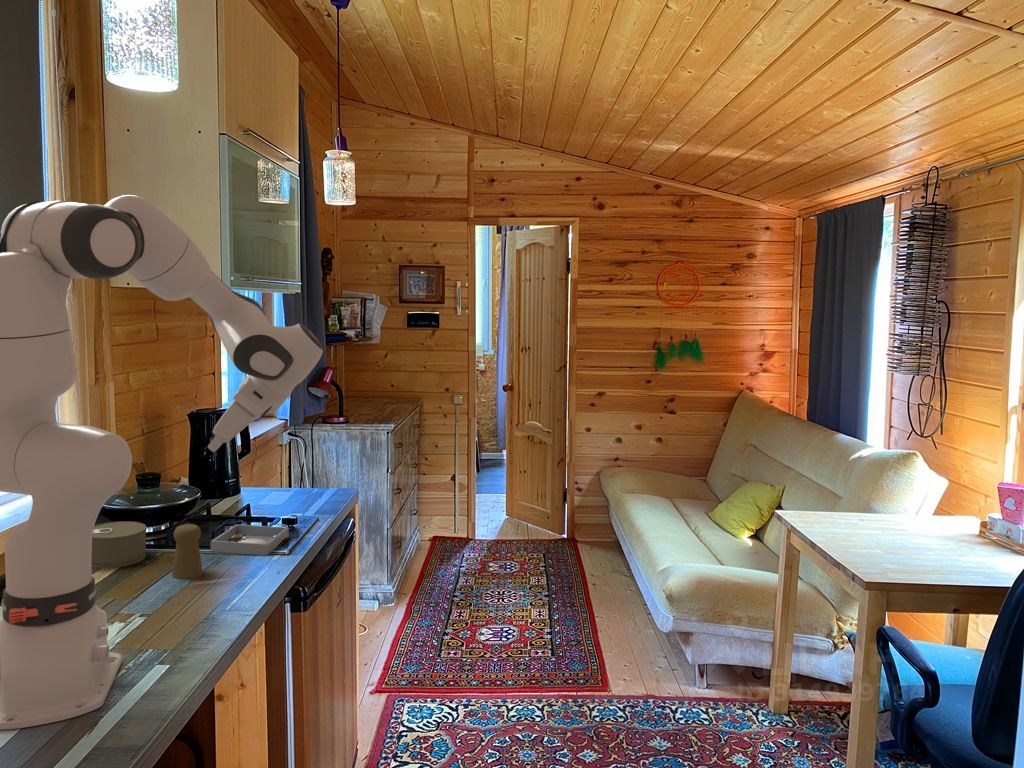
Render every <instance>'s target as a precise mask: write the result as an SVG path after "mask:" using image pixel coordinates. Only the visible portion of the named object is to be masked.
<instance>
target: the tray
mask: <svg viewBox="0 0 1024 768" xmlns="http://www.w3.org/2000/svg"><path fill="white" fill-rule="evenodd" d="M289 531H290V529H289V527H287V526H286V527H285V526H284V527H283V526H271V525H270V526H268V525H251V524H236V523H235V524H234V525H233V526H231V527H230V528H228V529H227V530H225V531H224V532H222V533H221V534H219V535H218V536H216V537H215V538H213V539H212V540H210V552H211V553H222V554H223V553H224V554H225V553H227V554H239V555H241V554H242V555H243V554H244V555H257V556H268V555H270V553H272V552H273V551H274V550H275V549H277V548H276V547H277V546H278V545H279V544H280V543H281V542H282V541H283V540H284V539H285V538H287V537H288V538H289V535H290V534H289ZM236 533H241V534H244V535H246V536H245V539H263V540H265V541H266V542H267V543H266V544H261V543H245V542H229V541H228V540H229V539H230V538H231V537H232V536H233V535H234V534H236ZM274 535H276V536H275V537H274V538H272V537H273V536H274ZM288 538H287V539H288ZM282 543H283V542H282ZM282 543H281V544H282ZM281 544H280V545H281ZM280 545H279V546H280ZM279 546H278V547H279ZM273 549H274V550H273Z"/></svg>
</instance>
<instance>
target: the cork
mask: <svg viewBox="0 0 1024 768" xmlns="http://www.w3.org/2000/svg"><path fill="white" fill-rule="evenodd" d="M201 535H202V531H201V527H200V526H199V525H196V524H192V523H187V524H186V523H185V524H180V525H179V526H177V527H176V528H175V529H174V531H173V539H174V541H175V542H176V543H175V550H174V552H175V553H174V559H173V567H172V573H171V577H172V578H174V579H176V580H192V579H197V578H198V577H201V576H202V575H203V573H204V572H203V565H202V559H201V551H200V545H199V540H200V539H201Z"/></svg>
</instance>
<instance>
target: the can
mask: <svg viewBox="0 0 1024 768" xmlns="http://www.w3.org/2000/svg"><path fill="white" fill-rule="evenodd" d="M146 533H147V525H146V524H145V523H142V522H140V521H131V520H129V521H126V520H125V521H124V520H122V521H112V522H105V523H100V524H96V525H94V529H93V535H92V568H97V569H119V568H124V567H127V566H128V567H129V566H132V565H135V564H138V563H140V562H142V561H143V560H145V559H146V558H147V557H146V555H147V554H146V551H147V548H146V545H147V541H146V540H147V539H146V537H147V536H146V535H147V534H146Z"/></svg>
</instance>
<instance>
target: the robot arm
mask: <svg viewBox="0 0 1024 768" xmlns="http://www.w3.org/2000/svg"><path fill="white" fill-rule="evenodd" d="M126 272H127V273H128V274H129V275H130V276H131V277H132V278H134V279H135V280H136V281H137V282H138V283H139V284H140V285H142V286H143V287H144V288H145V289H147V290H148V291H149V292H150V293H152V294H153V295H156V297H159V298H160V299H162V300H164V301H169V302H175V301H176V302H177V301H183V300H184V299H188V298H190V299H191V300H192V301H193V302H195V303H196V304H197V305H198V306H199V307H200V308H201V309H203V311H205V312H206V313H207V314H208V315H209V319H210V322H211V325H212V327H213V329H214V331H215V333H216V334H217V336H218V337H219V339H220V341H221V343H222V345H223V346H224V348H225V350H226V353H227V354H228V356H229V358H230V359H231V361H232V363H233V365H234V366H235V368H236V369H237V370H239V372H241V373H242V374H245V375H247V376H246V377H245V378H244V379H243V381H242V382H241V383H240V384H239V386H238V390H237V391H236V392H235V394H233V396H232V399H233V401H232V402H231V403H230V405H229V406H228V407H227V408H226V410H225V411H224V412H223V414H222V416H221V417H220V418H219V420H218V421H217V423H216V424H215V425H214V427H213V430H212V434H213V435H214V437H213V438H212V440H211V441H210V443H209V444H208V445H207V448H208V449H209V450H210V451H211V452H213V453H215V452H217V450H219V448H220V447H221V446H222V445H223V444H224V443H229V442H230V441H231V440H233V439H234V438H235V437H236V436H237V435H239V434H240V433H241V431H243V430H245V428H246V427H248V426H249V425H250V424H252V422H254V421H255V420H257V419H260V418H262V417H263V416H265V415H266V416H267V415H269V414H275V413H276V412H277V411H278V410H279V408H281V406H283V404H284V403H285V402H286V400H288V399H289V397H290V396H291V395H292V392H293V390H294V389H295V388H296V386H297V385H299V384H300V383H303V381H304V380H305V379H306V378H307V376H308V375H310V373H311V372H312V371H313V370H314V368H315V366H316V365H317V364H318V362H319V361H320V360H321V358H322V355H323V352H324V347H323V345H322V343H321V342H320V340H319V339H318V337H317V336H316V335H315V334H314V332H312V330H311V329H310V328H308V327H307V326H305V325H304V324H302V323H297V324H295V325H291V326H277V325H272V324H271V323H270V321H269V320H268V318H267V316H266V314H265V312H264V310H263V308H262V306H261V305H260V304H259V302H258V301H256V300H255V299H253V298H251V297H249V296H246V295H244V294H241V293H239V292H236V291H235V290H233V289H231V288H230V287H229V286H228V285H227V284H226V283H225V282H224V281H223V280H221V278H219V276H218V275H216V274H215V273H214V272H213V271H212V269H211V266H210V264H209V262H208V260H207V258H206V257H205V255H204V254H203V252H202V251H201V250H200V248H199V247H198V246H197V244H196V243H195V242H194V241H193V239H192V238H191V237H190V236H189V235H188V234H187V233H186V232H185V231H184V230H183V229H182V228H181V227H180V226H179V225H178V224H177V223H176V222H175V221H173V219H171V218H170V217H169V216H168V215H167V214H165V213H164V212H163V211H162V210H160V209H159V208H158V207H157V206H155V205H154V204H152V203H150V201H148V200H146V199H145V198H143V197H141V196H137V195H136V194H135V195H134V194H125V195H120V196H118V197H114V198H112V199H111V200H109V201H108V202H106V204H104V205H103V204H96V203H93V204H92V203H90V204H89V203H88V204H87V203H83V202H81V203H80V202H75V201H70V200H51V201H32V202H28V203H25V204H22V205H20V206H16V208H14V209H13V210H11V212H9V213H8V214H7V216H5V219H4V220H3V223H2V225H1V229H0V492H2V493H11V494H16V495H17V494H18V495H26V496H31V498H32V505H31V506H32V507H31V511H30V514H29V517H28V519H27V521H26V522H24V523H22V524H21V525H19V526H17V527H16V528H15V529H14V530H12V531H11V532H10V534H9V535H8V536H7V538H6V539H5V543H4V564H5V567H4V568H5V588H4V589H3V590H2V599H1V608H2V619H1V620H0V730H12V729H13V730H14V729H23V728H30V727H36V726H42V725H46V724H50V723H54V722H55V723H57V722H59V721H64V720H68V719H71V718H72V719H73V718H75V717H78V716H82V715H84V714H88V713H89V712H90V713H91V712H92V711H95V710H97V709H100V708H101V707H102V706H103V705H104V703H105V700H106V698H107V697H108V694H109V692H110V690H111V688H112V685H113V683H114V681H115V678H116V676H117V674H118V671H119V668H120V667H121V664H122V661H123V659H122V658H123V657H122V654H120V653H117V652H111V651H110V647H109V644H108V635H109V627H108V623H107V622H108V621H107V612H106V611H105V610H103V609H102V608H101V607H99V606H98V605H97V604H95V603H96V597H97V596H96V593H97V586H96V581H95V580H96V579H95V577H94V576H93V574H92V568H93V567H92V535H93V529H94V526H96V525H95V524H96V521H97V518H98V515H99V513H100V512H101V509H102V508H103V506H104V505H105V503H106V502H107V501H108V500H110V498H111V497H112V496H114V495H116V494H117V493H118V492H119V491H120V490H121V489H122V488H123V487H124V486H125V485H126V483H127V481H128V479H129V477H130V474H131V472H132V467H133V455H132V451H131V448H130V446H129V444H128V443H127V441H126V440H125V439H124V438H123V437H122V436H120V435H119V434H116V433H114V432H111V431H108V430H105V429H102V428H98V427H97V426H92V425H81V424H72V423H71V424H70V423H61V422H57V419H56V405H57V401H58V398H59V397H60V396H62V395H64V394H65V393H66V392H67V391H68V390H70V389H71V388H72V387H73V385H74V384H75V383H76V380H77V377H78V371H77V369H78V368H77V363H76V357H75V350H74V343H73V337H72V330H71V329H72V328H71V323H70V318H69V312H68V307H67V295H68V290H69V288H70V287H69V286H70V284H71V282H72V281H73V279H92V280H107V279H111V278H112V279H113V278H114V277H118V276H120V275H123V274H124V273H126Z"/></svg>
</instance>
